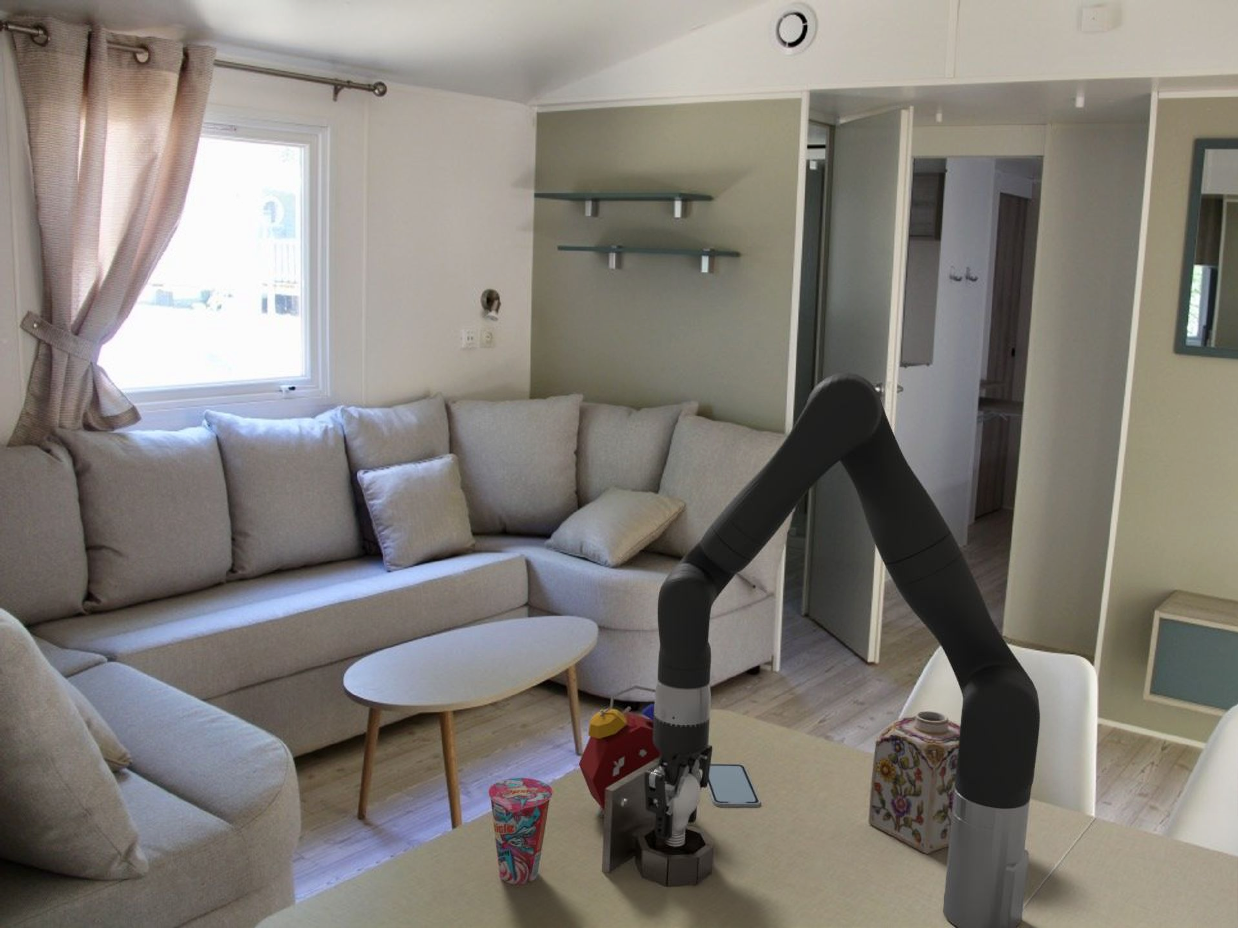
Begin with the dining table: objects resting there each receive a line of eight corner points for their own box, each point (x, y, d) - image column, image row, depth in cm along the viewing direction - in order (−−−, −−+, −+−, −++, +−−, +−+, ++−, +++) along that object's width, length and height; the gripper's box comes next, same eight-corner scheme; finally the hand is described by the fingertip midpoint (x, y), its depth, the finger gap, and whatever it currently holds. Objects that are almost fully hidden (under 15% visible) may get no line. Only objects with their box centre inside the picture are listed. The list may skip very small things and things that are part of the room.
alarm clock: (666, 796, 191) (672, 673, 187) (690, 821, 183) (697, 693, 179) (576, 809, 185) (581, 682, 182) (596, 835, 177) (601, 703, 174)
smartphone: (744, 763, 204) (761, 803, 189) (744, 768, 204) (761, 808, 189) (699, 763, 203) (713, 803, 188) (699, 768, 203) (713, 808, 188)
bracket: (730, 859, 172) (735, 778, 170) (677, 900, 161) (682, 814, 159) (657, 833, 179) (661, 755, 177) (601, 870, 167) (605, 788, 165)
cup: (479, 863, 168) (481, 781, 166) (539, 855, 171) (541, 774, 169) (497, 898, 160) (499, 811, 157) (560, 888, 163) (562, 803, 160)
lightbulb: (694, 860, 165) (698, 783, 163) (647, 853, 166) (651, 777, 164) (700, 838, 171) (704, 763, 169) (655, 832, 172) (659, 758, 170)
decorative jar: (926, 856, 175) (937, 737, 172) (865, 824, 185) (874, 710, 181) (979, 835, 182) (991, 720, 179) (918, 805, 192) (927, 695, 188)
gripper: (677, 735, 157) (671, 857, 160) (732, 703, 169) (726, 818, 172) (628, 720, 161) (623, 840, 164) (686, 690, 173) (680, 802, 176)
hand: (675, 828), depth 168 cm, fingers closed on lightbulb, 6 cm apart
